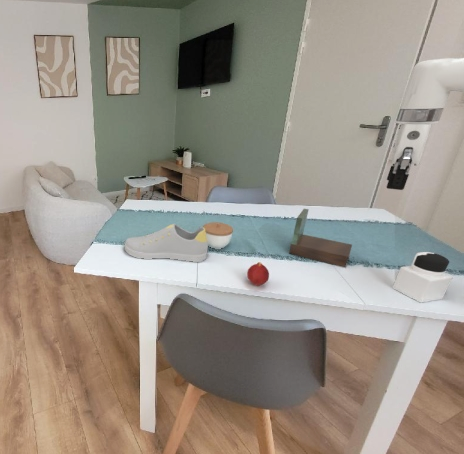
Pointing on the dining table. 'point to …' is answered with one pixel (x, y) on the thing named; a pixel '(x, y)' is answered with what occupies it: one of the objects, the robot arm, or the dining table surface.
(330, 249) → the brown hinged box
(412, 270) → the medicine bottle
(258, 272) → the onion
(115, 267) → the dining table surface
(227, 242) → the trinket box
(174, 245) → the shoe
